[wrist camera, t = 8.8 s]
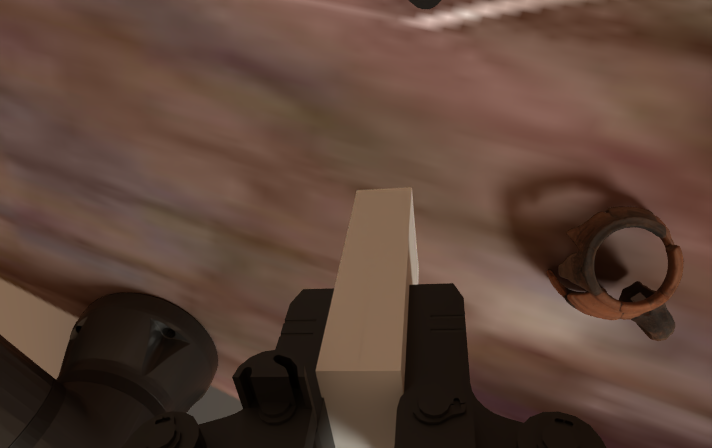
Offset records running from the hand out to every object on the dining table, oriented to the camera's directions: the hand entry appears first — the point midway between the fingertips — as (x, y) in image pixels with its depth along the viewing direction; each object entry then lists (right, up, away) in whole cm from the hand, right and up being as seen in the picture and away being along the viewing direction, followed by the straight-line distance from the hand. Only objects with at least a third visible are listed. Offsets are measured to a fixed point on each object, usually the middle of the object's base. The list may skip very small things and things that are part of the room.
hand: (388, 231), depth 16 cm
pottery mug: (+20, -2, +31) cm, 38 cm away
